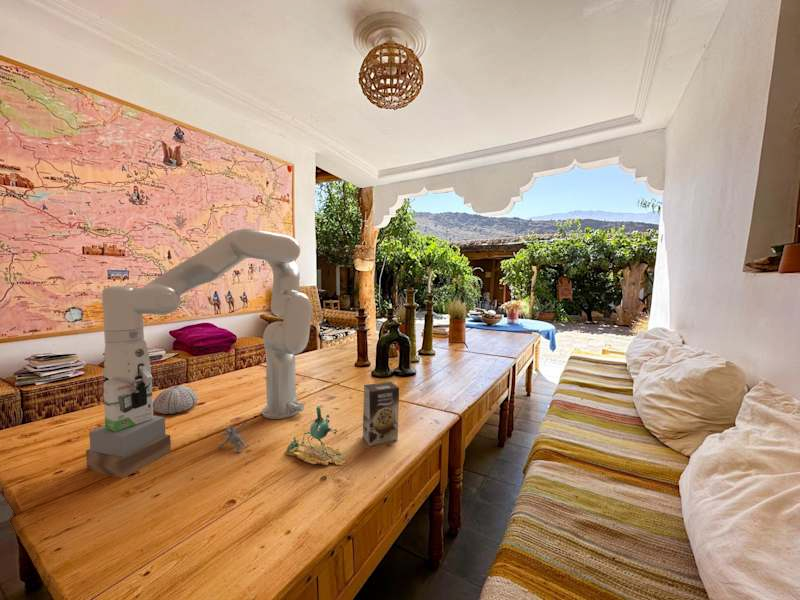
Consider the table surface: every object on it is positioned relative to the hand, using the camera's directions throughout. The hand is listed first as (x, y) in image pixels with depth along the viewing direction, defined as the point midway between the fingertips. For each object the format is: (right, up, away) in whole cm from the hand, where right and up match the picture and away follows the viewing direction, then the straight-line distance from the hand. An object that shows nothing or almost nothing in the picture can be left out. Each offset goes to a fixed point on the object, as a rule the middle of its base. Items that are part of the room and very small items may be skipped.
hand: (128, 403), depth 84 cm
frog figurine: (+47, -16, +5) cm, 49 cm away
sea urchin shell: (-10, -12, +32) cm, 36 cm away
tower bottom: (0, -15, +1) cm, 15 cm away
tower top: (0, -10, +1) cm, 10 cm away
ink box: (0, -5, +1) cm, 5 cm away
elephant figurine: (+23, -15, +9) cm, 29 cm away
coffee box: (+63, -15, +15) cm, 67 cm away
